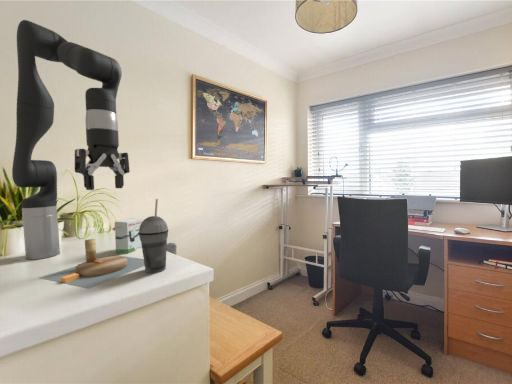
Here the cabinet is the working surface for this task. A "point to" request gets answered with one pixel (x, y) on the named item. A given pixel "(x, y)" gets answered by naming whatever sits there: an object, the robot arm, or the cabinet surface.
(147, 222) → the beverage cup
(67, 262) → the cabinet surface
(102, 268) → the dial
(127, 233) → the ink box
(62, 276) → the board
